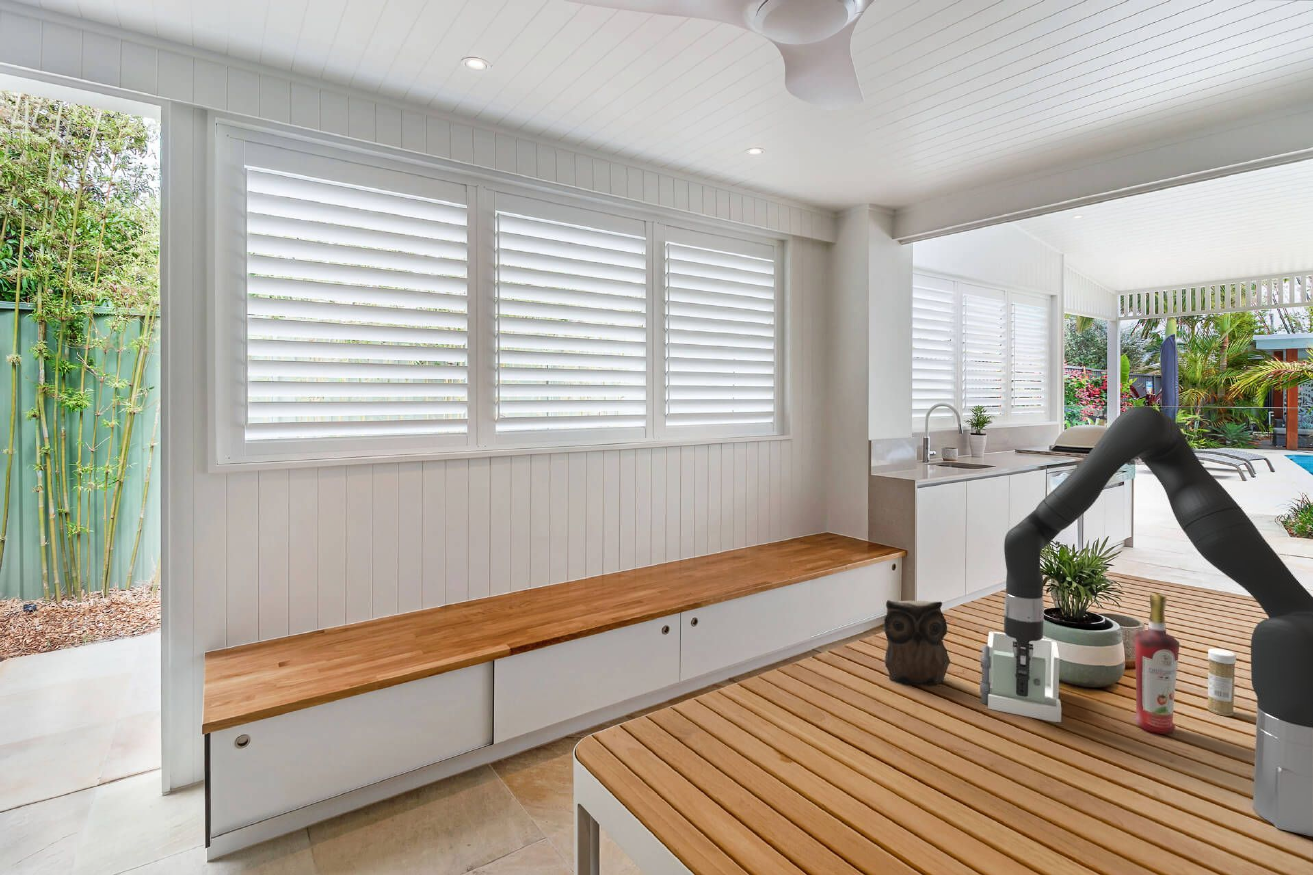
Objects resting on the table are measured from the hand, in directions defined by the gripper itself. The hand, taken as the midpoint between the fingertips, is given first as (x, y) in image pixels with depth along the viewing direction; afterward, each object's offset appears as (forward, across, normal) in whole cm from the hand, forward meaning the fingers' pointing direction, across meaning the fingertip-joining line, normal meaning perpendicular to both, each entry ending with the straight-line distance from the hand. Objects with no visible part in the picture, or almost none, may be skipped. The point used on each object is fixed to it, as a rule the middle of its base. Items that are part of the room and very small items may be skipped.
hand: (1021, 690), depth 142 cm
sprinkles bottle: (+5, +20, -38) cm, 43 cm away
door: (+4, 0, +1) cm, 4 cm away
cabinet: (+4, +6, 0) cm, 7 cm away
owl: (+5, +8, +23) cm, 25 cm away
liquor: (+4, +4, -24) cm, 25 cm away
